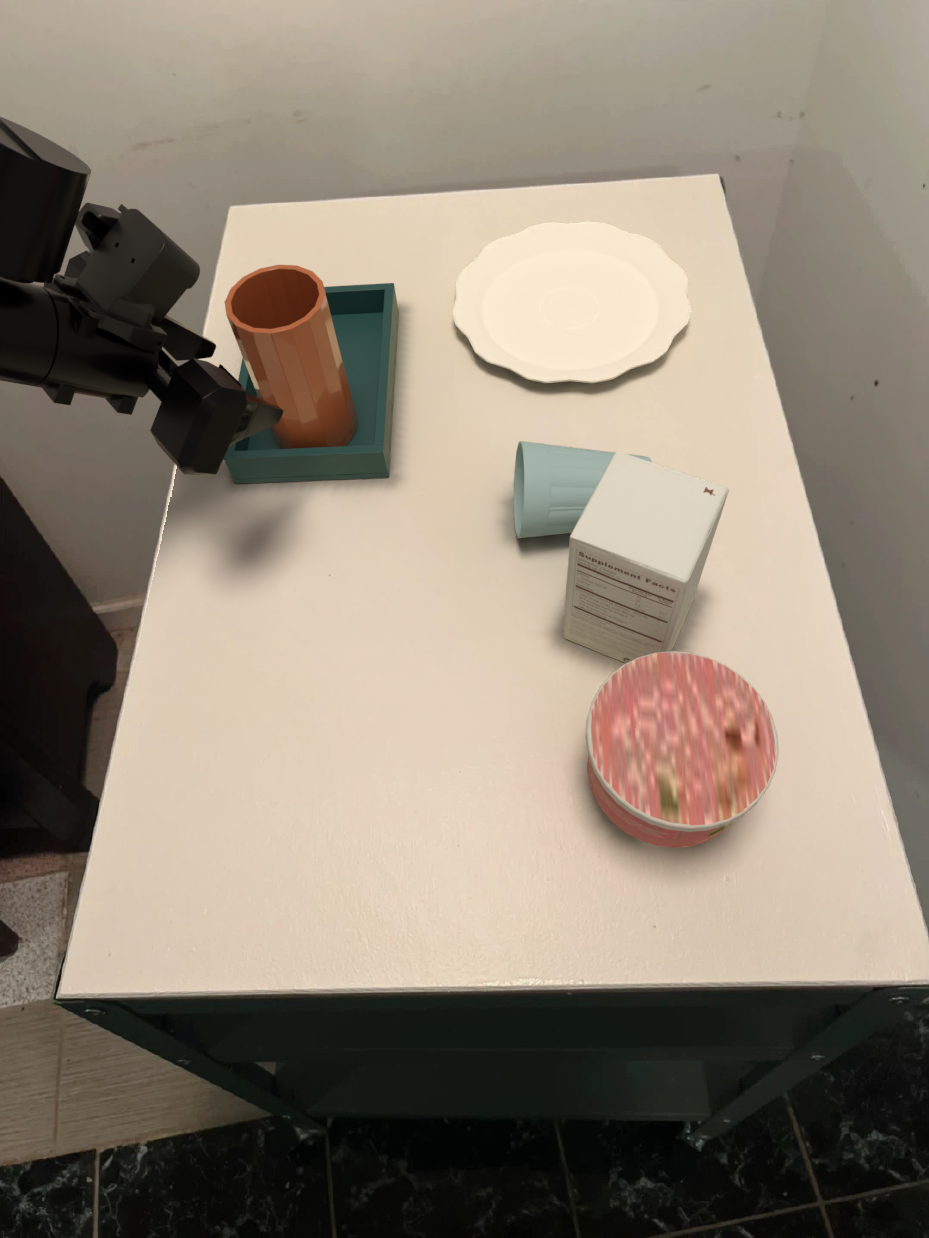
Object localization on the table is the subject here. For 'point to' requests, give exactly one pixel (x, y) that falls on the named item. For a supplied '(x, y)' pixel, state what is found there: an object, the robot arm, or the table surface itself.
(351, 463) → the tray
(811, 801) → the table surface
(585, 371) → the plate
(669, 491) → the white packaging box
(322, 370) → the tumbler
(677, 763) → the container
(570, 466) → the cup
